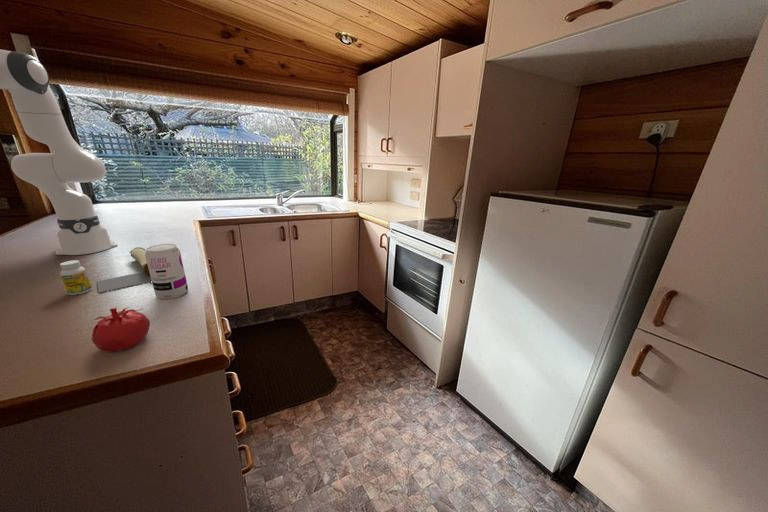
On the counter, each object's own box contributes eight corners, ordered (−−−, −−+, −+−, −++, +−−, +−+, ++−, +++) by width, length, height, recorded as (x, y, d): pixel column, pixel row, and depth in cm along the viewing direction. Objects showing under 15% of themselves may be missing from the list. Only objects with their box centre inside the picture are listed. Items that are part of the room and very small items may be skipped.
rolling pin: (166, 276, 100) (162, 263, 98) (145, 281, 96) (141, 267, 94) (147, 255, 121) (144, 244, 119) (129, 258, 117) (126, 246, 115)
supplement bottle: (94, 286, 93) (84, 258, 90) (90, 293, 89) (80, 263, 86) (70, 290, 90) (59, 261, 87) (65, 297, 86) (53, 267, 83)
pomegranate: (162, 331, 72) (154, 297, 69) (130, 357, 63) (120, 319, 60) (120, 330, 72) (111, 295, 69) (82, 356, 62) (69, 318, 59)
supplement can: (184, 285, 95) (175, 241, 90) (191, 294, 90) (181, 248, 85) (154, 293, 90) (141, 246, 85) (159, 303, 84) (146, 254, 79)
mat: (97, 282, 96) (96, 281, 96) (163, 268, 108) (163, 267, 108) (99, 293, 89) (98, 292, 89) (170, 277, 101) (170, 276, 101)
